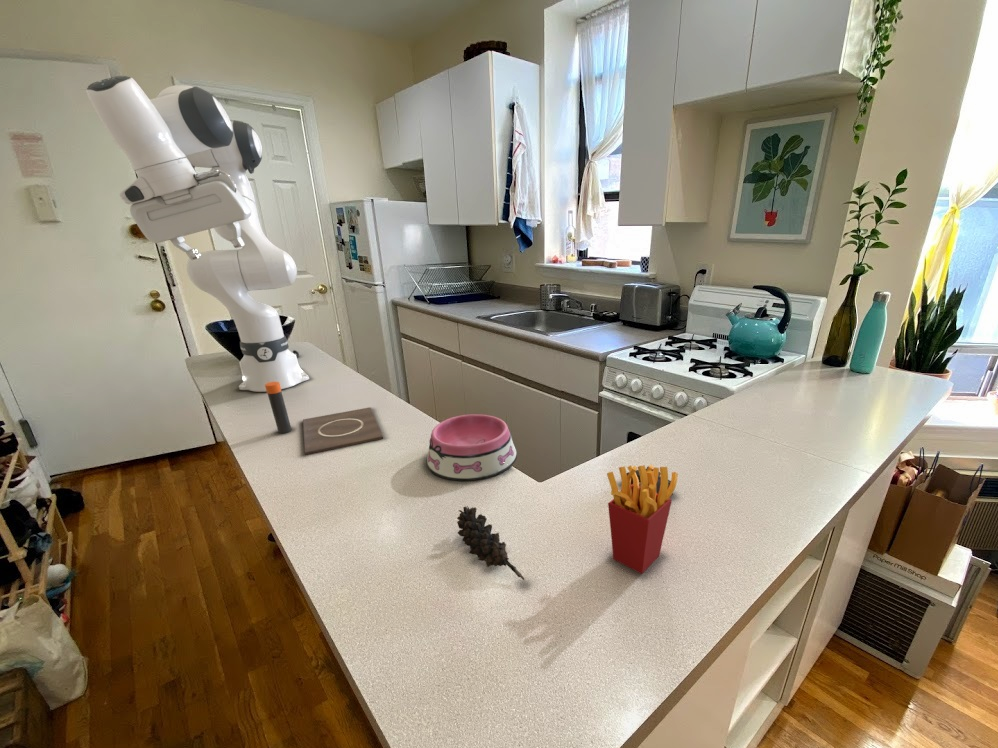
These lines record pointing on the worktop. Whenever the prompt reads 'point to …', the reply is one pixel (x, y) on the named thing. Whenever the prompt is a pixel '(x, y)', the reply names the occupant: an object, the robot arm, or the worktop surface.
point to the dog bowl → (470, 448)
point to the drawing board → (340, 430)
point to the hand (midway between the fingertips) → (218, 252)
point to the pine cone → (483, 539)
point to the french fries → (639, 515)
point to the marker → (278, 407)
